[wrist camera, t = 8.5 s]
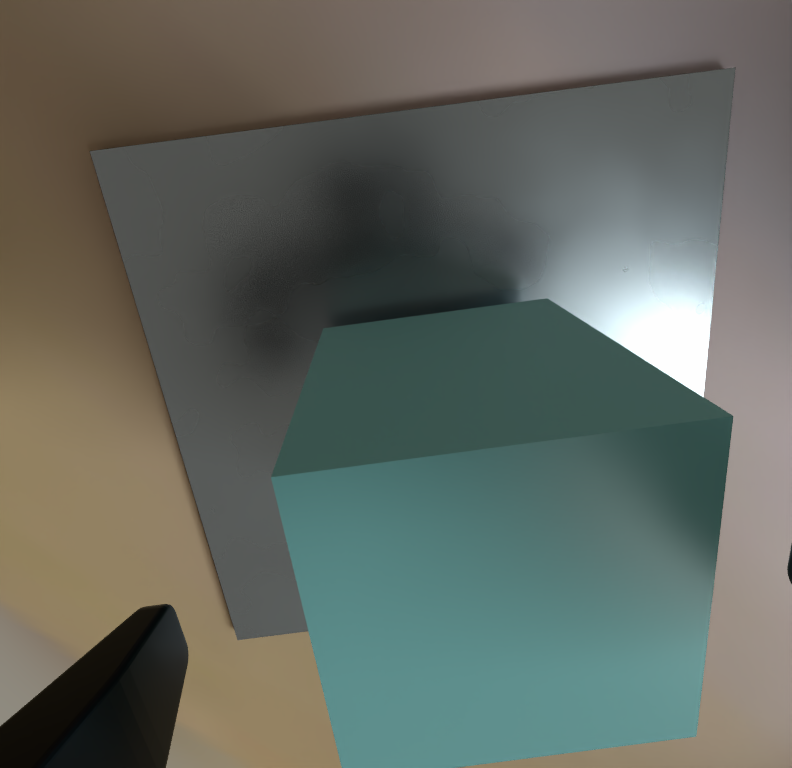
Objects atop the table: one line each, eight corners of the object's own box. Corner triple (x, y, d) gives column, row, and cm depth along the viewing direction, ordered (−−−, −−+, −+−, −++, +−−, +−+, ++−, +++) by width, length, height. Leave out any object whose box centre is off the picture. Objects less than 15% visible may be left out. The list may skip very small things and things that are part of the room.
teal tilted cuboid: (547, 298, 12) (733, 416, 6) (552, 491, 14) (696, 737, 8) (323, 328, 12) (270, 476, 6) (357, 517, 14) (345, 782, 8)
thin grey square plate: (726, 70, 11) (1213, -91, 5) (679, 576, 16) (887, 840, 10) (96, 152, 12) (-279, 103, 5) (240, 632, 16) (149, 932, 10)
